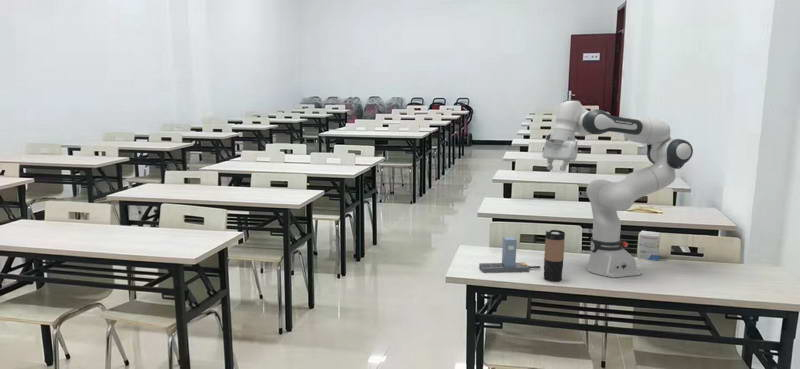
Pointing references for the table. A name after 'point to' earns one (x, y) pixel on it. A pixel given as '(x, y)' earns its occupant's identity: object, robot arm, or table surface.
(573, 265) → the table surface
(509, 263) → the blue rectangular block
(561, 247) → the travel mug
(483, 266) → the power strip
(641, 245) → the ink box
